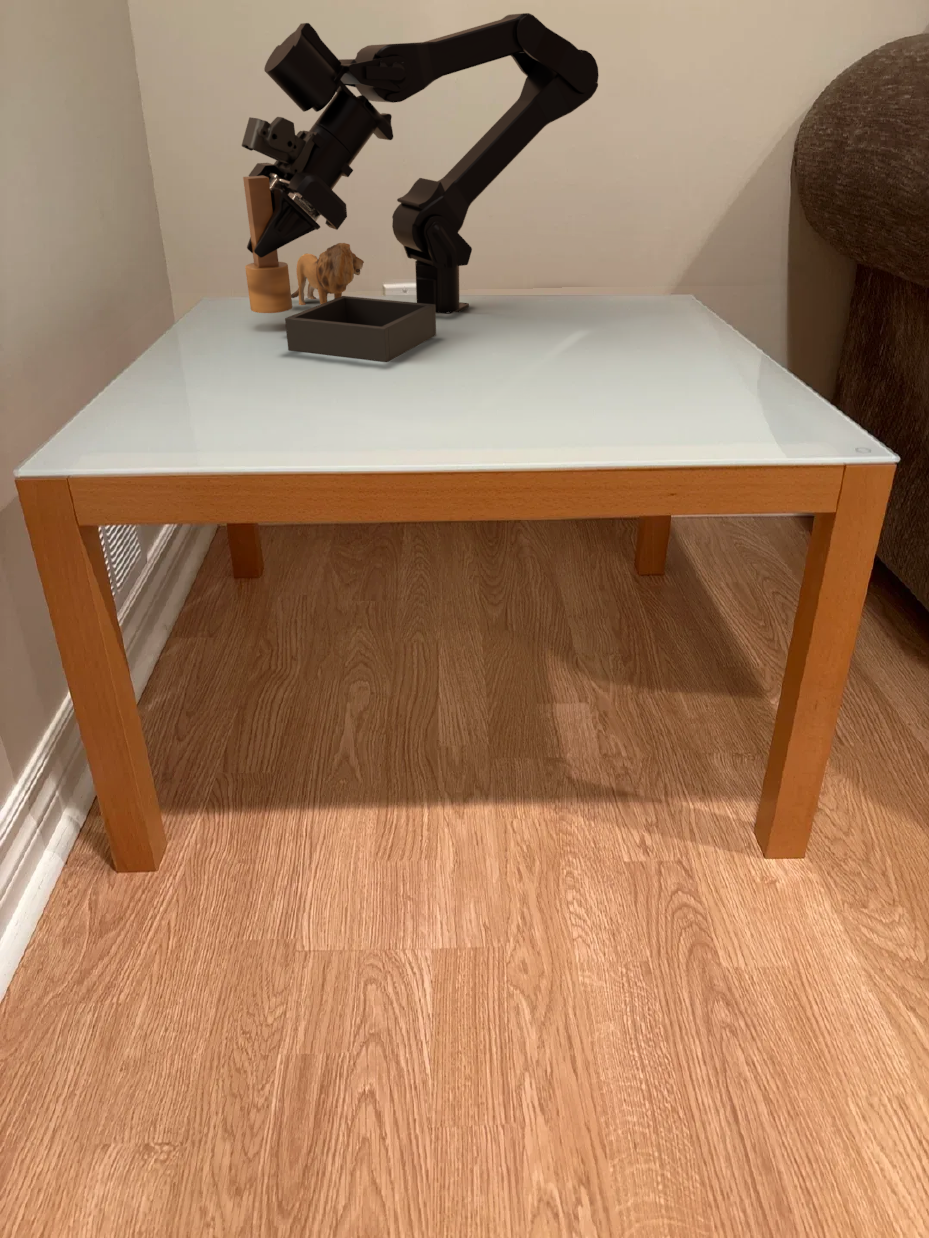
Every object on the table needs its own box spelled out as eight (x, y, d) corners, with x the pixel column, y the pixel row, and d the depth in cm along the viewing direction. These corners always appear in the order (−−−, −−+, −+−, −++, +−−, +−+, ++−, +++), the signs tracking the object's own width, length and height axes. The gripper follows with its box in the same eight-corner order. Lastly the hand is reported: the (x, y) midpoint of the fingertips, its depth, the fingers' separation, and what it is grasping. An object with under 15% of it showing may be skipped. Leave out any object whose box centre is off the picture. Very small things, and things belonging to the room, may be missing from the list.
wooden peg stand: (285, 302, 115) (271, 174, 107) (297, 310, 111) (283, 178, 103) (246, 306, 113) (228, 176, 105) (256, 315, 109) (239, 180, 101)
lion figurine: (372, 315, 120) (367, 242, 116) (339, 322, 117) (334, 247, 112) (305, 298, 129) (299, 230, 125) (274, 304, 126) (266, 234, 122)
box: (345, 330, 114) (342, 295, 112) (436, 339, 109) (435, 304, 107) (288, 355, 104) (284, 318, 102) (386, 367, 100) (384, 329, 98)
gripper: (255, 86, 108) (177, 195, 110) (309, 89, 94) (219, 214, 96) (324, 157, 116) (250, 258, 117) (384, 169, 101) (299, 284, 103)
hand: (253, 253), depth 108 cm, fingers closed on wooden peg stand, 2 cm apart
